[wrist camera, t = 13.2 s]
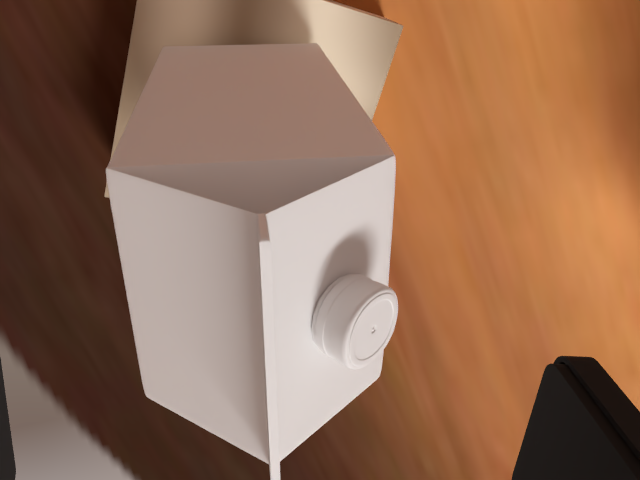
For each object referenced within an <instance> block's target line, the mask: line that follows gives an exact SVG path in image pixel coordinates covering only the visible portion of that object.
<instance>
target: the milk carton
mask: <svg viewBox="0 0 640 480" xmlns="http://www.w3.org/2000/svg"><path fill="white" fill-rule="evenodd" d="M395 175H396V159H395V155H394V153H393V152H392V150H391V148H390V147H389V145H388V144H387V142H386V141H385V139H384V138H383V136H382V135H381V133H380V132H379V131H378V129H377V128H376V126H375V125H374V123H373V122H372V121H371V119H370V118H369V116H368V115H367V113H366V112H365V111H364V109H363V108H362V106H361V105H360V103H359V102H358V101H357V99H356V98H355V96H354V95H353V93H352V92H351V91H350V89H349V88H348V86H347V85H346V83H345V82H344V80H343V79H342V78H341V76H340V75H339V73H338V72H337V70H336V69H335V68H334V66H333V65H332V63H331V62H330V60H329V59H328V58H327V56H326V55H325V53H324V52H323V50H322V49H321V48H320V46H319V45H318V44H317V43H303V44H256V45H208V46H165V47H163V48H162V50H161V52H160V54H159V57H158V59H157V61H156V63H155V65H154V67H153V70H152V72H151V74H150V76H149V78H148V80H147V83H146V85H145V87H144V89H143V91H142V93H141V96H140V98H139V100H138V102H137V104H136V106H135V108H134V111H133V113H132V115H131V117H130V119H129V121H128V124H127V126H126V128H125V130H124V132H123V134H122V137H121V139H120V141H119V143H118V145H117V147H116V150H115V152H114V154H113V156H112V158H111V160H110V163H109V165H108V167H107V168H106V177H107V185H108V191H109V197H110V203H111V209H112V214H113V220H114V226H115V231H116V237H117V243H118V248H119V254H120V260H121V265H122V271H123V276H124V282H125V288H126V293H127V299H128V305H129V310H130V316H131V322H132V327H133V333H134V339H135V344H136V350H137V356H138V361H139V367H140V372H141V378H142V383H143V387H144V392H145V395H146V397H148V398H149V399H151V400H153V401H155V402H157V403H158V404H160V405H162V406H164V407H166V408H168V409H169V410H171V411H173V412H175V413H177V414H178V415H180V416H182V417H184V418H186V419H188V420H189V421H191V422H193V423H195V424H197V425H199V426H200V427H202V428H204V429H206V430H208V431H209V432H211V433H213V434H215V435H217V436H219V437H220V438H222V439H224V440H226V441H228V442H229V443H231V444H233V445H235V446H237V447H239V448H240V449H242V450H244V451H246V452H248V453H249V454H251V455H253V456H255V457H257V458H259V459H260V460H262V461H264V462H266V463H268V464H269V468H270V480H280V461H281V460H282V459H283V458H285V457H286V456H287V455H288V454H289V453H291V452H292V451H293V450H294V449H295V448H296V447H298V446H299V445H300V444H301V443H302V442H304V441H305V440H306V439H307V438H308V437H309V436H311V435H312V434H313V433H314V432H315V431H317V430H318V429H319V428H320V427H321V426H322V425H324V424H325V423H326V422H327V421H328V420H330V419H331V418H332V417H333V416H334V415H335V414H337V413H338V412H339V411H340V410H341V409H343V408H344V407H345V406H346V405H347V404H348V403H350V402H351V401H352V400H353V399H354V398H356V397H357V396H358V395H359V394H360V393H361V392H363V391H364V390H365V389H366V388H367V387H369V386H370V385H371V384H372V383H373V382H374V381H375V380H376V379H378V378H379V376H380V373H381V368H382V361H383V350H384V348H385V347H386V345H387V343H388V342H389V340H390V338H391V336H392V333H393V331H394V328H395V324H396V320H397V314H398V301H397V296H396V293H395V292H394V291H393V289H392V288H390V287H388V281H389V266H390V252H391V238H392V224H393V210H394V194H395Z"/></svg>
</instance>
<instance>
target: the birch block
mask: <svg viewBox="0 0 640 480" xmlns="http://www.w3.org/2000/svg"><path fill="white" fill-rule="evenodd" d="M402 29H403V26H402V25H400V24H398V23H396V22H394V21H391V20H389V19H387V18H385V17H382V16H379V15H376V14H373V13H369V12H366V11H363V10H360V9H357V8H354V7H351V6H347V5H344V4H341V3H338V2H335V1H332V0H137V3H136V9H135V15H134V21H133V27H132V33H131V39H130V45H129V51H128V58H127V64H126V70H125V76H124V82H123V88H122V94H121V100H120V106H119V112H118V118H117V124H116V130H115V136H114V142H113V148H112V154H111V158H112V156H113V154H114V152H115V150H116V147H117V145H118V143H119V141H120V139H121V137H122V134H123V132H124V130H125V128H126V126H127V124H128V121H129V119H130V117H131V115H132V113H133V111H134V108H135V106H136V104H137V102H138V100H139V98H140V96H141V93H142V91H143V89H144V87H145V85H146V83H147V80H148V78H149V76H150V74H151V72H152V70H153V67H154V65H155V63H156V61H157V59H158V57H159V54H160V52H161V50H162V48H163V47H165V46H208V45H256V44H303V43H317V44H318V45H319V46H320V48H321V49H322V50H323V52H324V53H325V55H326V56H327V58H328V59H329V60H330V62H331V63H332V65H333V66H334V68H335V69H336V70H337V72H338V73H339V75H340V76H341V78H342V79H343V80H344V82H345V83H346V85H347V86H348V88H349V89H350V91H351V92H352V93H353V95H354V96H355V98H356V99H357V101H358V102H359V103H360V105H361V106H362V108H363V109H364V111H365V112H366V113H367V115H368V116H369V118H370V119H371V121H372V119H373V116H374V113H375V110H376V107H377V104H378V101H379V98H380V95H381V92H382V89H383V86H384V83H385V80H386V77H387V74H388V71H389V68H390V65H391V62H392V59H393V56H394V53H395V50H396V47H397V44H398V41H399V38H400V35H401V32H402ZM104 197H108V198H110V197H109V191H108V185H107V184H106V190H105V196H104Z"/></svg>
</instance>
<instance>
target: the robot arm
mask: <svg viewBox="0 0 640 480" xmlns="http://www.w3.org/2000/svg"><path fill="white" fill-rule="evenodd" d="M15 474H16V468H15V460H14V453H13V446H12V438H11V431H10V424H9V416H8V410H7V403H6V395H5V388H4V380H3V373H2V366H1V359H0V480H15ZM512 480H640V412H639V411H638V409H637V408H636V407H635V406H634V405H633V403H632V402H631V401H630V400H629V399H628V397H627V396H626V395H625V394H624V393H623V391H622V390H621V389H620V388H619V387H618V385H617V384H616V383H615V382H614V381H613V379H612V378H611V377H610V376H609V375H608V373H607V372H606V371H605V370H604V369H603V367H602V366H601V365H600V364H599V363H598V361H596V360H595V359H594V358H591V357H576V356H560V357H558V358H557V359H556V360H555V362H554V364H549V365H547V367H546V368H545V371H544V374H543V377H542V380H541V383H540V387H539V390H538V393H537V397H536V400H535V403H534V406H533V410H532V413H531V416H530V419H529V423H528V426H527V429H526V432H525V436H524V439H523V442H522V445H521V449H520V452H519V455H518V458H517V462H516V465H515V468H514V472H513V475H512Z"/></svg>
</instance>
